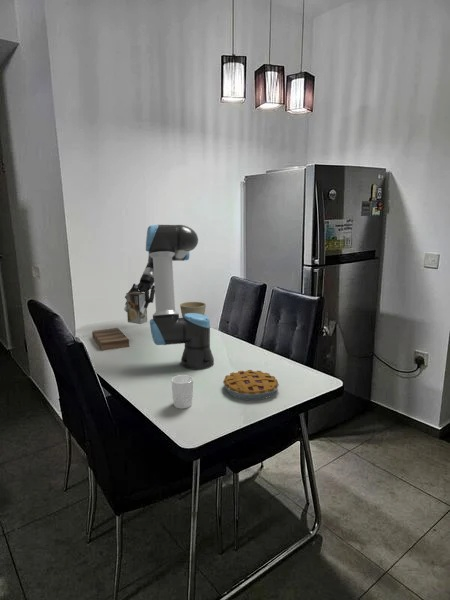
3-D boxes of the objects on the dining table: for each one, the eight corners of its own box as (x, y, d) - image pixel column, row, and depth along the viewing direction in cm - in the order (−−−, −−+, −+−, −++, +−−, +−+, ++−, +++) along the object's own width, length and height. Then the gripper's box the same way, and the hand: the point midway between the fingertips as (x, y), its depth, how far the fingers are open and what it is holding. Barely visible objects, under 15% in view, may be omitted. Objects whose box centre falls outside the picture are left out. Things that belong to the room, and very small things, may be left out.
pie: (232, 405, 149) (232, 393, 148) (216, 382, 170) (216, 370, 169) (287, 398, 155) (288, 386, 154) (265, 376, 176) (266, 365, 175)
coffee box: (148, 321, 221) (146, 292, 218) (140, 324, 216) (139, 294, 212) (134, 319, 226) (133, 291, 222) (127, 322, 220) (125, 293, 217)
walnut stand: (129, 346, 213) (129, 339, 212) (102, 350, 206) (101, 343, 205) (117, 334, 233) (117, 327, 232) (92, 337, 227) (92, 331, 226)
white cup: (194, 399, 154) (193, 374, 152) (193, 409, 146) (192, 383, 144) (173, 399, 153) (172, 374, 151) (171, 409, 146) (170, 383, 144)
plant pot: (210, 329, 244) (210, 303, 240) (196, 335, 231) (195, 308, 228) (190, 325, 252) (190, 300, 248) (175, 331, 239) (174, 305, 236)
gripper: (168, 282, 227) (154, 317, 216) (134, 280, 235) (119, 313, 223) (163, 274, 221) (148, 309, 210) (128, 272, 229) (112, 306, 218)
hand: (133, 311), depth 217 cm, fingers closed on coffee box, 9 cm apart
